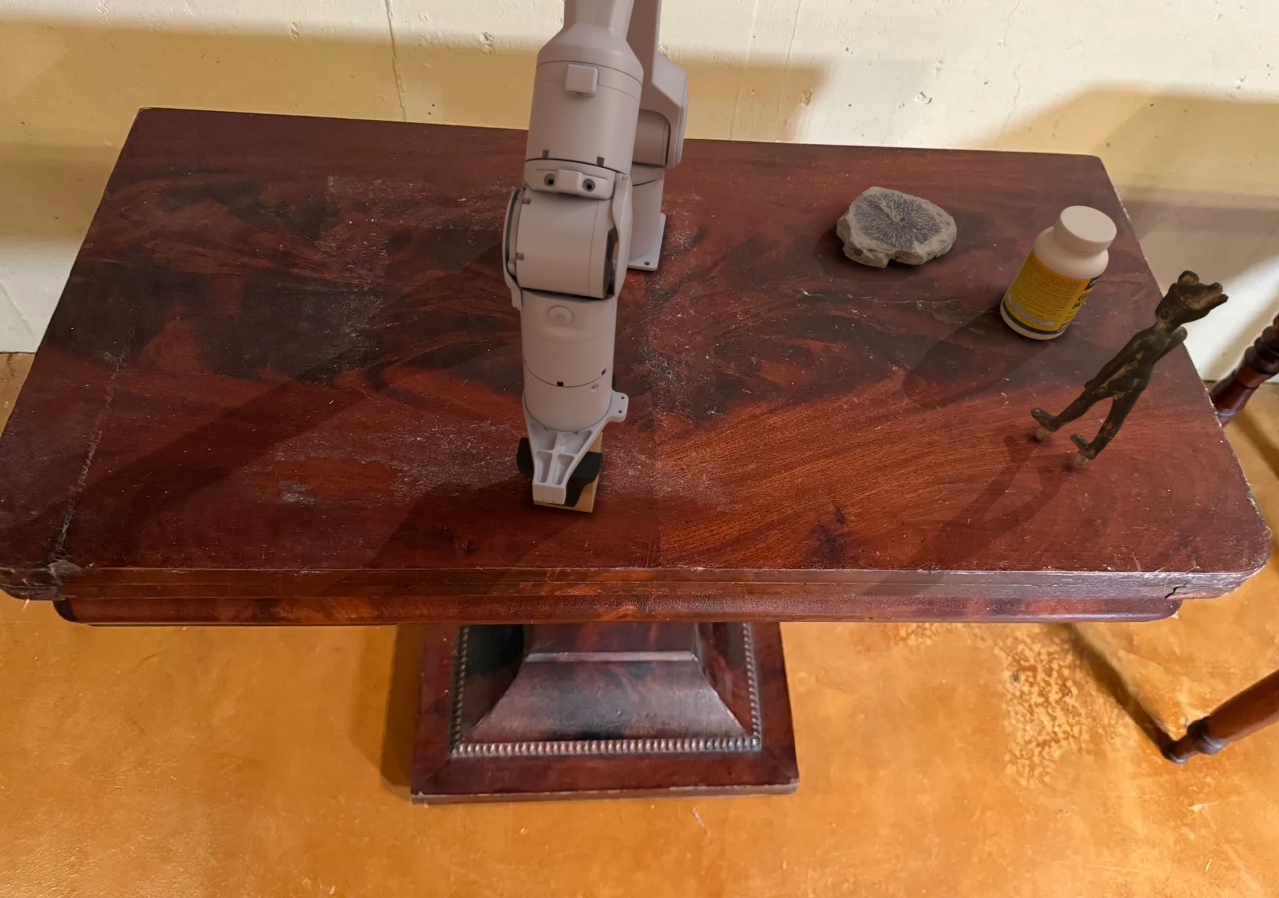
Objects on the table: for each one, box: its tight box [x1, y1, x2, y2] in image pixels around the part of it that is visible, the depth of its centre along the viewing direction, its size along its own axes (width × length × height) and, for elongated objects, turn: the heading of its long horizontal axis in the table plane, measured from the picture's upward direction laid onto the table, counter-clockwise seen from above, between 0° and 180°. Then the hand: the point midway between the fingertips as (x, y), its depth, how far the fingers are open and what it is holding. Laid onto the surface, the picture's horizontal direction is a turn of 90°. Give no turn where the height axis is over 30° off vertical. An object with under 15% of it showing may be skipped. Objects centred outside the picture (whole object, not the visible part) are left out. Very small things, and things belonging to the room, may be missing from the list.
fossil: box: [836, 185, 958, 269], centre depth 86 cm, size 11×4×10 cm
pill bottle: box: [999, 205, 1117, 341], centre depth 78 cm, size 6×6×11 cm
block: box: [533, 431, 603, 513], centre depth 66 cm, size 4×4×4 cm
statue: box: [1030, 270, 1230, 468], centre depth 65 cm, size 5×6×20 cm
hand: (567, 474), depth 67 cm, fingers closed on block, 4 cm apart
